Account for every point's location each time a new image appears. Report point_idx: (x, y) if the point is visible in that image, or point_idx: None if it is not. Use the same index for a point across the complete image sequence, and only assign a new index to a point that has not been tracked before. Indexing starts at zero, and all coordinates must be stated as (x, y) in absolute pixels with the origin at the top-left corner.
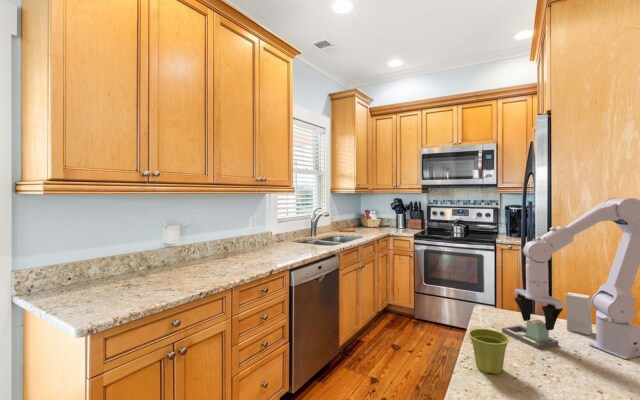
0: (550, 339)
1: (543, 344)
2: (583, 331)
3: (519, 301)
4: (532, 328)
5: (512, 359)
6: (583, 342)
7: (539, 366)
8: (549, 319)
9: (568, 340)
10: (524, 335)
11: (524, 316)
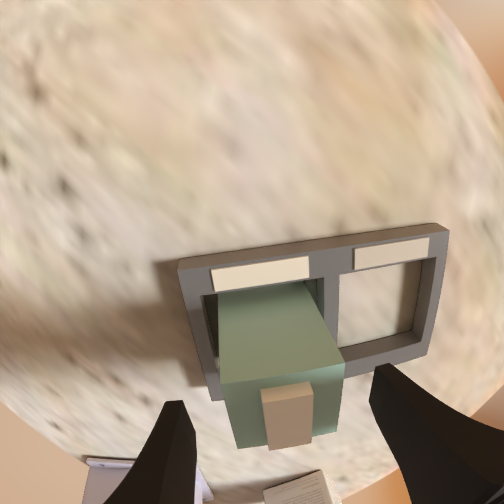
0: None
1: (187, 311)
2: (277, 492)
3: (492, 470)
4: (275, 347)
5: (95, 5)
6: (219, 460)
7: (6, 109)
8: (125, 477)
9: None
10: (326, 290)
11: (393, 389)
